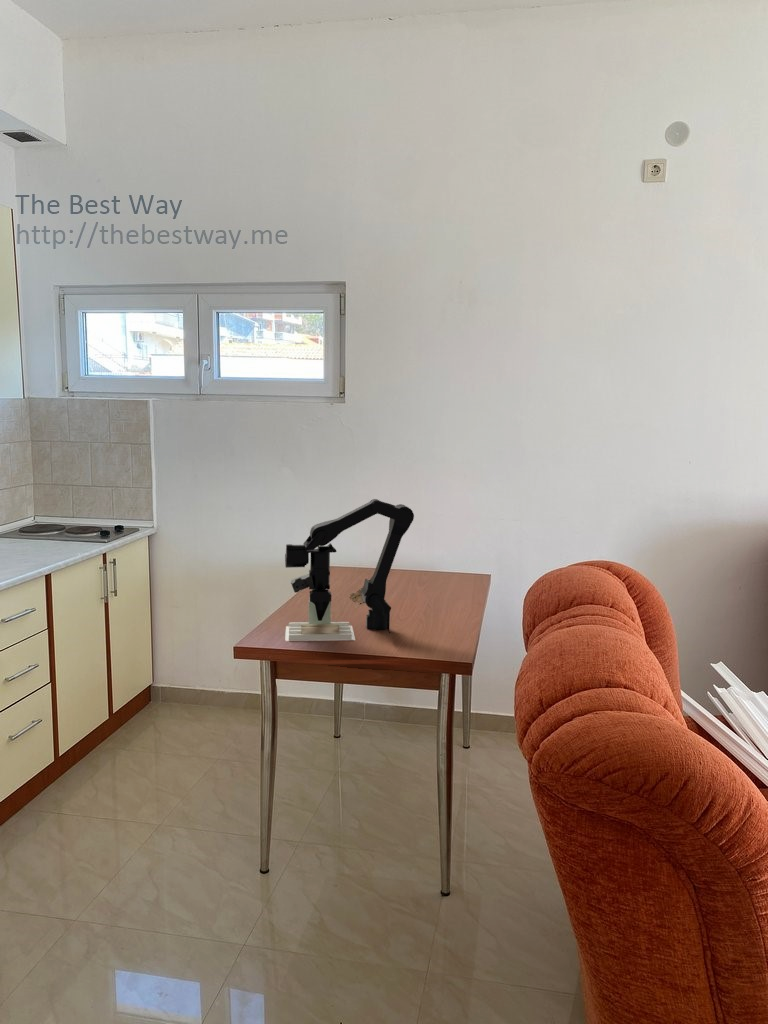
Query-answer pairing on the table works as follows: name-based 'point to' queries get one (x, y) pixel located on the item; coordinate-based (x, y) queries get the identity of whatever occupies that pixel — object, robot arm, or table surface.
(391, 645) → the table surface
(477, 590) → the table surface
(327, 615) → the sage green block
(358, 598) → the wooden fragment
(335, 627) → the offcut bundle
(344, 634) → the slot rack
